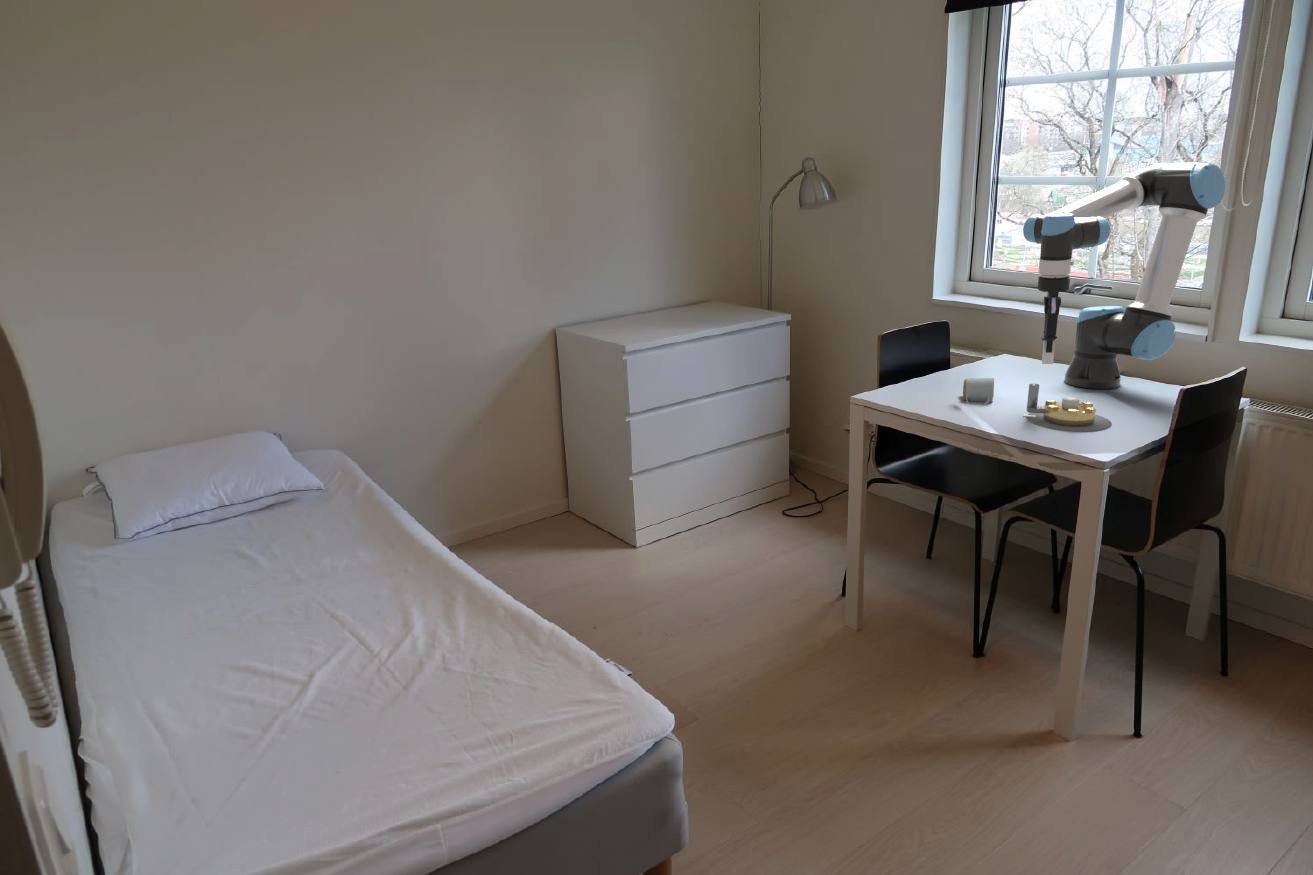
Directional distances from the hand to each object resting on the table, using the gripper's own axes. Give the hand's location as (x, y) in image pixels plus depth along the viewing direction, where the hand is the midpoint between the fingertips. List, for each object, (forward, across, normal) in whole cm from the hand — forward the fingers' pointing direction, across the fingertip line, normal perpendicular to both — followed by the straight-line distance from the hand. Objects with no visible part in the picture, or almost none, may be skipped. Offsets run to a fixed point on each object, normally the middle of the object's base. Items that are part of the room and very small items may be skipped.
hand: (1047, 363), depth 235 cm
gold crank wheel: (+11, -14, -3) cm, 18 cm away
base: (+13, -14, -5) cm, 19 cm away
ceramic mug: (+13, +1, +17) cm, 21 cm away
